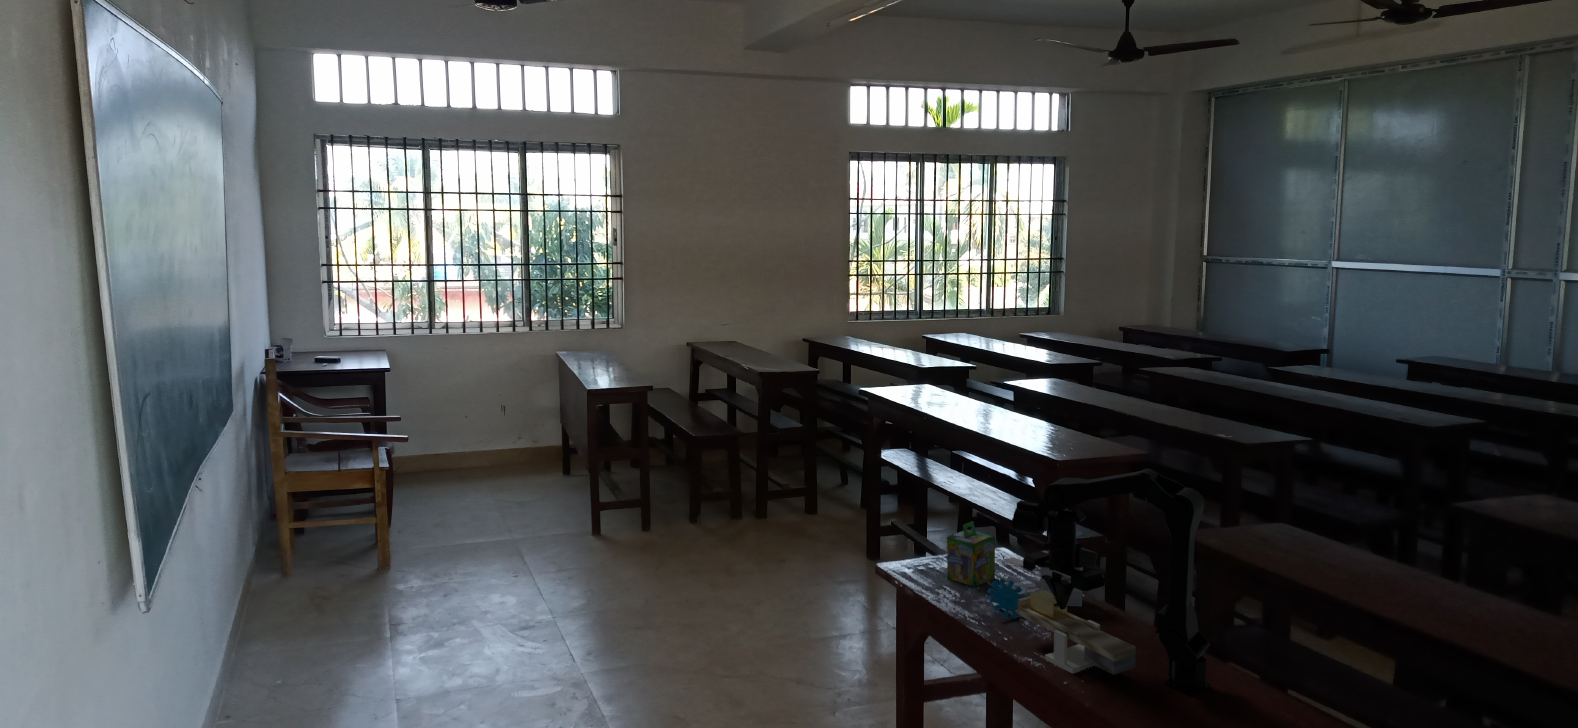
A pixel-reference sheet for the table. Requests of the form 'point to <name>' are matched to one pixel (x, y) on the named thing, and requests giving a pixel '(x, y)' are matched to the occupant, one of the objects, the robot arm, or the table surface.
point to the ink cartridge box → (1075, 595)
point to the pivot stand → (1068, 654)
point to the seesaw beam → (1087, 639)
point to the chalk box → (970, 556)
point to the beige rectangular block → (1046, 605)
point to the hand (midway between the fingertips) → (1062, 608)
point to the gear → (1006, 597)
